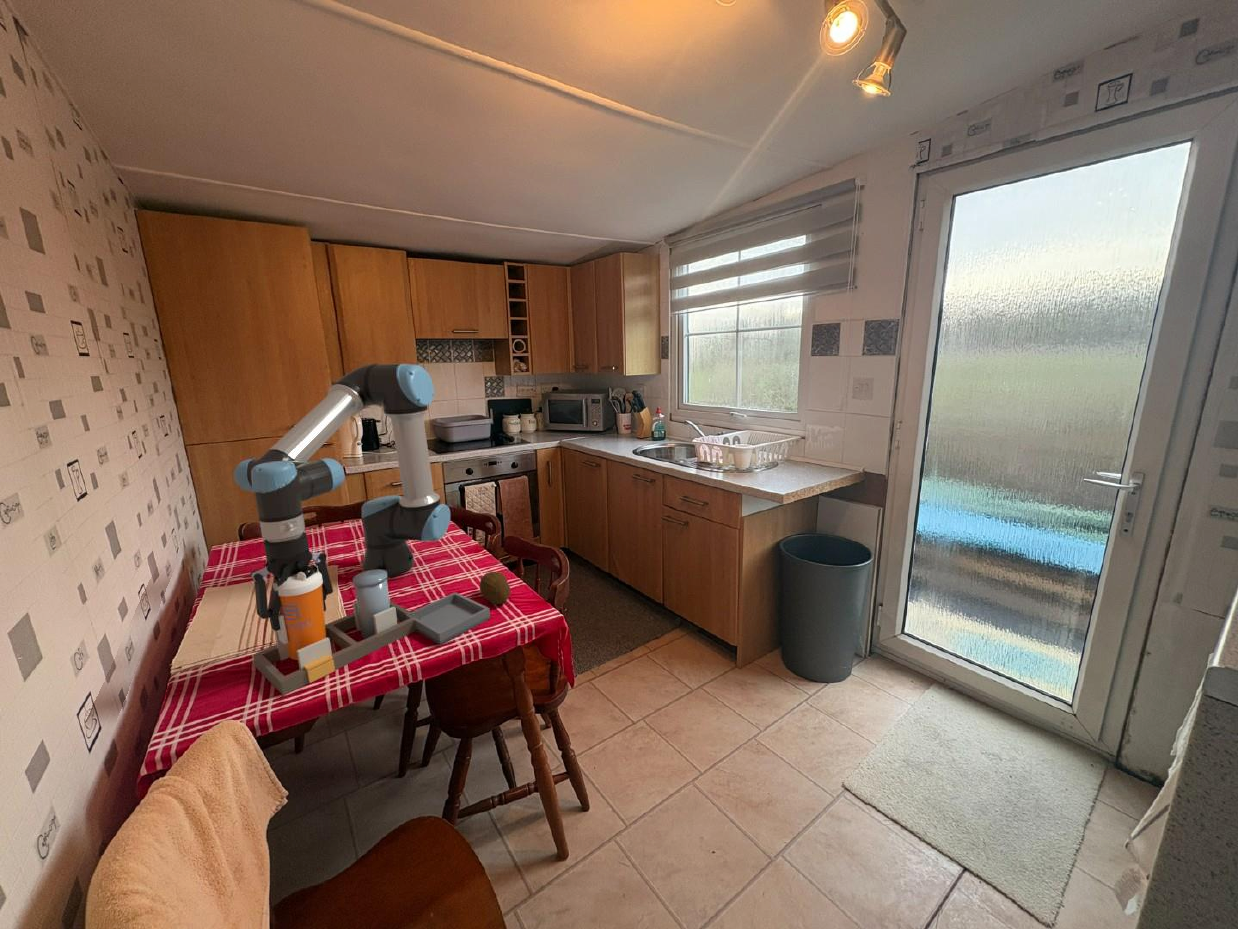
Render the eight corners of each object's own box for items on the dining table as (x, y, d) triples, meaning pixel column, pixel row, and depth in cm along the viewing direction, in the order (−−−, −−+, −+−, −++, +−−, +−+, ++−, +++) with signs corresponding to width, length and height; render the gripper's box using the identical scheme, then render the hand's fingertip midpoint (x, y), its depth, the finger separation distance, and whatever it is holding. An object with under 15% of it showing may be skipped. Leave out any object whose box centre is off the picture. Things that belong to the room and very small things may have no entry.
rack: (255, 666, 106) (249, 638, 104) (388, 609, 130) (385, 585, 128) (284, 696, 96) (278, 666, 95) (422, 628, 120) (419, 603, 119)
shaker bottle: (298, 640, 111) (286, 559, 107) (338, 638, 112) (328, 558, 107) (275, 664, 102) (260, 577, 98) (318, 662, 103) (306, 576, 99)
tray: (406, 625, 122) (405, 614, 121) (456, 602, 133) (455, 592, 133) (440, 645, 113) (439, 634, 113) (490, 618, 125) (489, 608, 124)
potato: (492, 612, 128) (491, 586, 126) (471, 595, 137) (469, 570, 135) (519, 602, 133) (518, 576, 132) (497, 586, 142) (496, 562, 140)
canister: (354, 632, 119) (347, 577, 115) (383, 619, 125) (377, 567, 121) (369, 643, 114) (362, 586, 111) (399, 629, 120) (392, 574, 117)
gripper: (234, 555, 90) (256, 662, 96) (341, 525, 106) (355, 619, 111) (221, 546, 95) (243, 649, 100) (326, 519, 110) (340, 609, 115)
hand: (302, 633), depth 106 cm, fingers open, 6 cm apart
